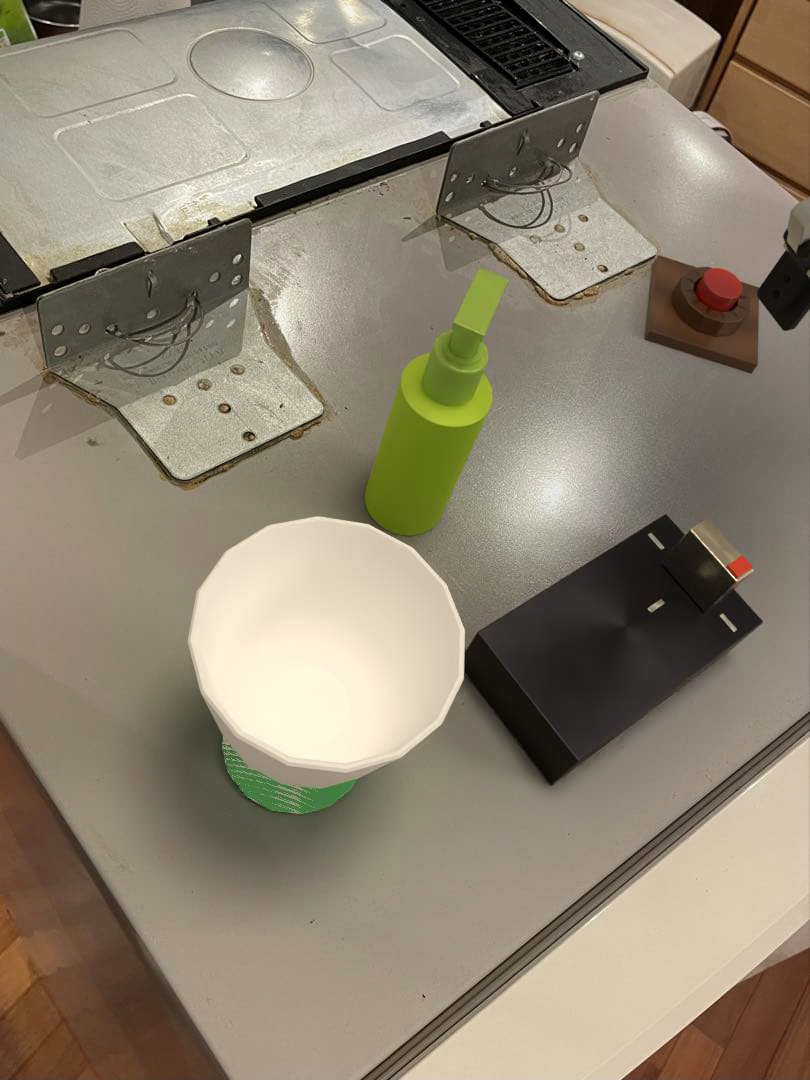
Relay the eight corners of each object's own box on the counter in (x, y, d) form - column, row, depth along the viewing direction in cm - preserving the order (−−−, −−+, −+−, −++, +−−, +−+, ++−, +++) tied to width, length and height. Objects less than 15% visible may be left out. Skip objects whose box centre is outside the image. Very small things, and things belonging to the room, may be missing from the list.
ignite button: (695, 277, 88) (704, 262, 87) (733, 289, 88) (743, 275, 87) (693, 305, 86) (703, 290, 85) (732, 317, 86) (742, 303, 85)
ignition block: (652, 263, 92) (666, 239, 89) (753, 296, 92) (769, 272, 90) (644, 340, 86) (658, 316, 84) (751, 373, 87) (768, 351, 84)
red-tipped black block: (660, 562, 68) (691, 527, 64) (677, 551, 69) (709, 515, 65) (704, 613, 67) (739, 580, 63) (721, 601, 67) (756, 568, 64)
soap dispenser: (457, 477, 74) (543, 286, 58) (428, 548, 71) (510, 366, 54) (386, 446, 75) (450, 247, 58) (352, 515, 71) (411, 324, 54)
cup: (417, 844, 60) (490, 760, 47) (185, 866, 56) (192, 783, 43) (387, 637, 66) (444, 513, 53) (178, 646, 63) (183, 515, 50)
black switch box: (654, 537, 75) (684, 501, 71) (744, 639, 72) (782, 608, 68) (456, 663, 67) (477, 630, 62) (550, 786, 63) (579, 760, 59)
